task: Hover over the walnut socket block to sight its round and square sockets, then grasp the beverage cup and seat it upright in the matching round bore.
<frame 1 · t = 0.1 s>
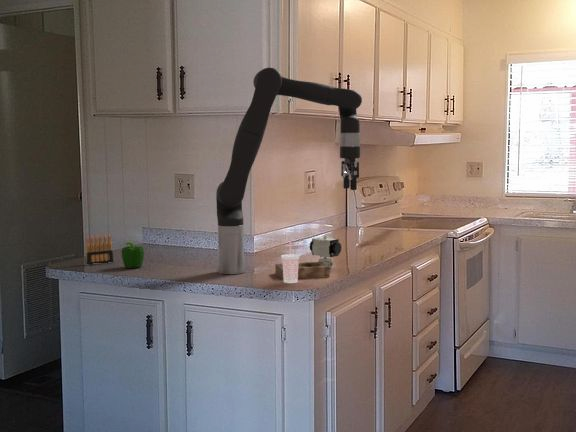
hand: (349, 189, 261), 29 cm above the countertop, fingers open, 8 cm apart
bell pepper: (133, 268, 266), on the countertop
ammunition clip: (99, 264, 275), on the countertop
socket block: (302, 275, 247), on the countertop
beverage cup: (290, 282, 235), on the countertop
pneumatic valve: (324, 268, 261), on the countertop
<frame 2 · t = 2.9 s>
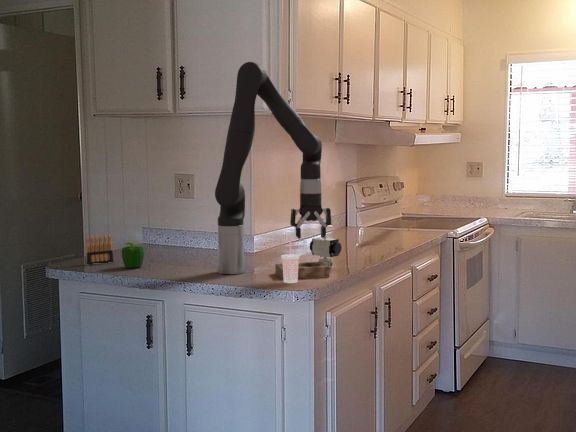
hand: (310, 237, 247), 13 cm above the countertop, fingers open, 8 cm apart
nothing on the countertop moved.
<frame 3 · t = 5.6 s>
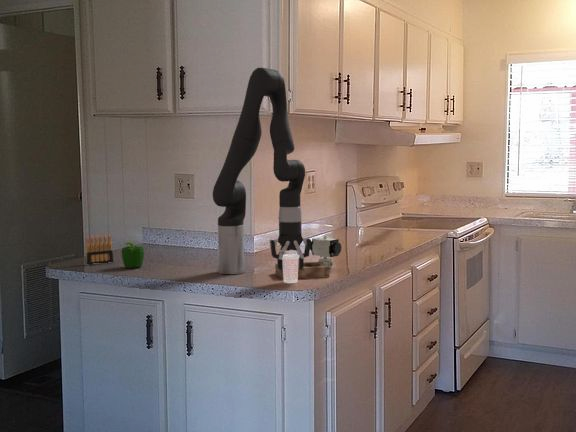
hand: (290, 269, 235), 4 cm above the countertop, fingers closed on beverage cup, 6 cm apart
beverage cup: (290, 282, 235), on the countertop, touching gripper
everything else where it was.
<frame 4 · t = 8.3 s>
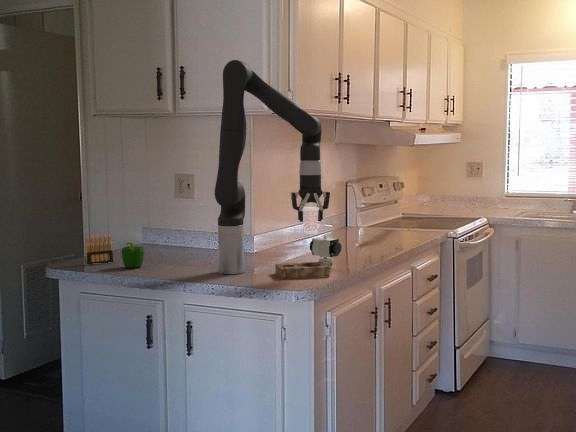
hand: (310, 221, 246), 19 cm above the countertop, fingers closed on beverage cup, 6 cm apart
beverage cup: (310, 233, 246), point 15 cm above the countertop, touching gripper
everything else where it was.
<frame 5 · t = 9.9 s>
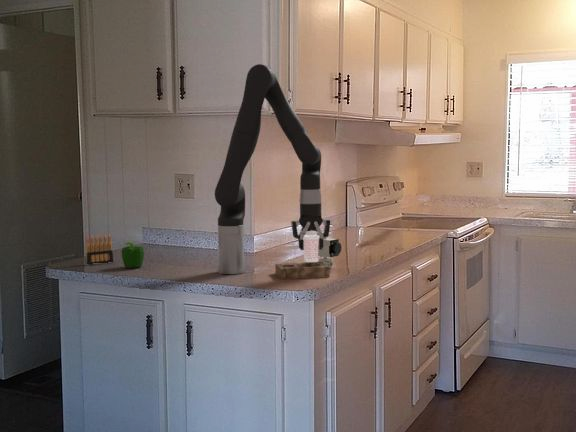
hand: (311, 249, 247), 9 cm above the countertop, fingers closed on beverage cup, 6 cm apart
beverage cup: (311, 261, 247), point 5 cm above the countertop, touching gripper
everything else where it was.
when the fingers open (6 cm above the countertop, at t = 11.2 s): beverage cup drops 1 cm, resting in socket block.
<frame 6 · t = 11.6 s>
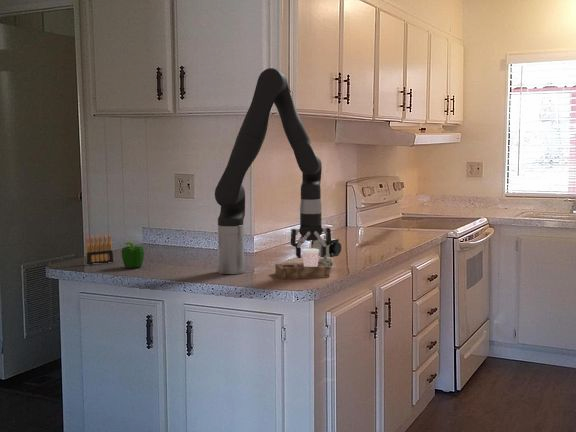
hand: (311, 257, 247), 6 cm above the countertop, fingers open, 8 cm apart
beverage cup: (310, 275, 248), resting in socket block
everything else where it was.
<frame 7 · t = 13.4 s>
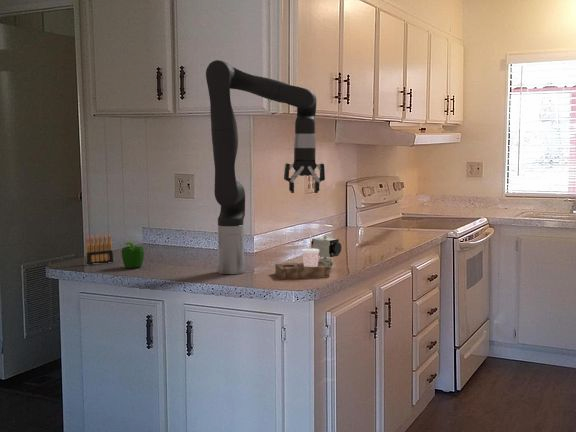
hand: (304, 193, 247), 29 cm above the countertop, fingers open, 8 cm apart
nothing on the countertop moved.
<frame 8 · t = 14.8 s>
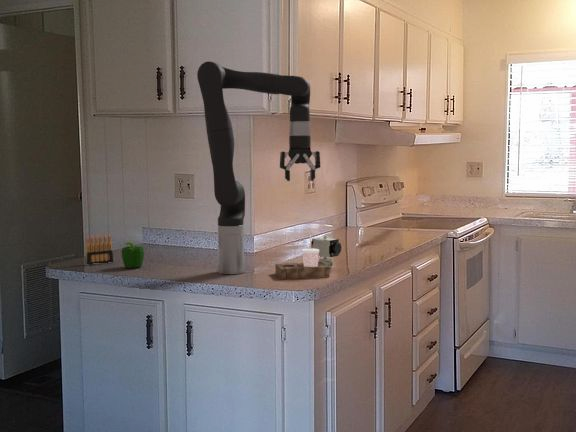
hand: (300, 180, 248), 33 cm above the countertop, fingers open, 8 cm apart
nothing on the countertop moved.
at the end: beverage cup 0.1 cm from the target spot on the socket block, point 0.0 cm above the socket block's base; beverage cup tilted 0°; the gripper is holding nothing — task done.
